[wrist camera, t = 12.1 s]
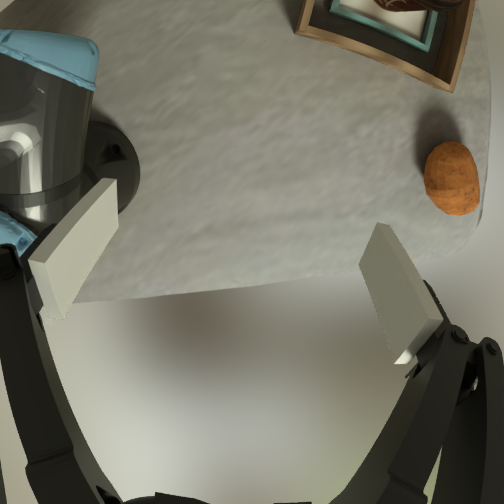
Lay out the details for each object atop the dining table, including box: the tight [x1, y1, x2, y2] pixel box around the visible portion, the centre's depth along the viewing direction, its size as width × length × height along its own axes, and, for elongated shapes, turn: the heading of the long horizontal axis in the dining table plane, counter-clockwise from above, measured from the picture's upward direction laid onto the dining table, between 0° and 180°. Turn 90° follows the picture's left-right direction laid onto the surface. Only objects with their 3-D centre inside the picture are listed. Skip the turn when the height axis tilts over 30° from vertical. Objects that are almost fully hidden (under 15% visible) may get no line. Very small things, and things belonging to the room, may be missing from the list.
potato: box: [424, 141, 480, 216], centre depth 35 cm, size 9×11×8 cm
